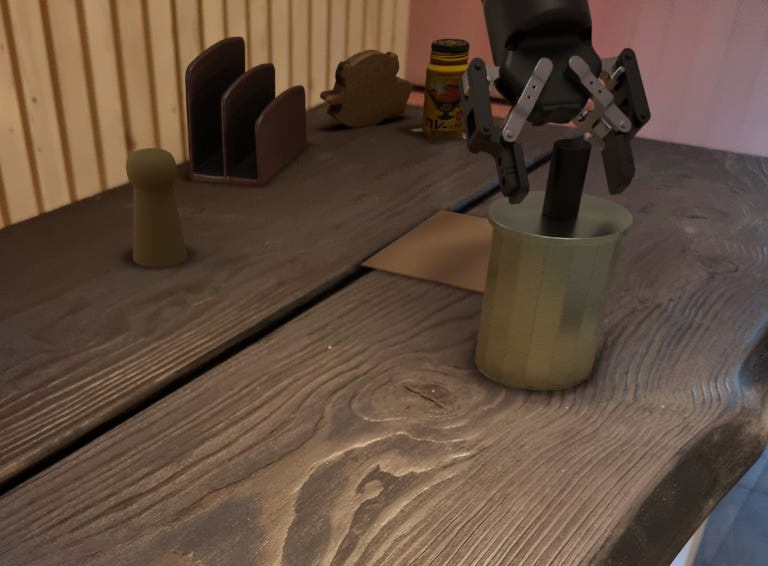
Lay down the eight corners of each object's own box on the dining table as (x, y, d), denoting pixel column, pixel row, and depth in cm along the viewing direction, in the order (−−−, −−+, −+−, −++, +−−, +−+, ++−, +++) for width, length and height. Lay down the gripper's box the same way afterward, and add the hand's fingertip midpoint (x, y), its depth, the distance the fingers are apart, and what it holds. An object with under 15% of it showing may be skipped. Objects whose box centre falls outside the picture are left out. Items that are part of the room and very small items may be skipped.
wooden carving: (392, 113, 145) (396, 39, 139) (413, 119, 143) (418, 43, 136) (313, 133, 138) (314, 55, 131) (334, 139, 135) (336, 60, 128)
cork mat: (603, 246, 103) (604, 240, 103) (538, 309, 91) (539, 303, 90) (440, 214, 111) (441, 209, 111) (360, 269, 99) (360, 264, 98)
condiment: (437, 146, 132) (446, 48, 124) (401, 132, 137) (408, 38, 129) (476, 138, 135) (488, 42, 127) (440, 125, 140) (449, 32, 132)
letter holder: (189, 183, 121) (180, 58, 111) (242, 142, 134) (238, 27, 125) (261, 190, 118) (257, 63, 109) (307, 147, 132) (308, 31, 122)
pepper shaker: (127, 254, 102) (113, 146, 95) (179, 247, 104) (170, 139, 96) (140, 274, 98) (127, 162, 91) (195, 266, 100) (186, 155, 92)
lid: (647, 220, 75) (668, 136, 71) (603, 265, 68) (623, 175, 64) (517, 197, 79) (529, 116, 75) (463, 237, 72) (473, 151, 68)
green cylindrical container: (605, 359, 83) (639, 213, 74) (566, 406, 77) (599, 253, 68) (500, 334, 87) (522, 193, 78) (456, 376, 81) (474, 228, 72)
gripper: (463, -44, 66) (505, 175, 66) (641, -52, 69) (683, 159, 68) (429, 30, 74) (467, 227, 73) (591, 20, 76) (628, 210, 76)
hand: (571, 194), depth 71 cm, fingers open, 8 cm apart
